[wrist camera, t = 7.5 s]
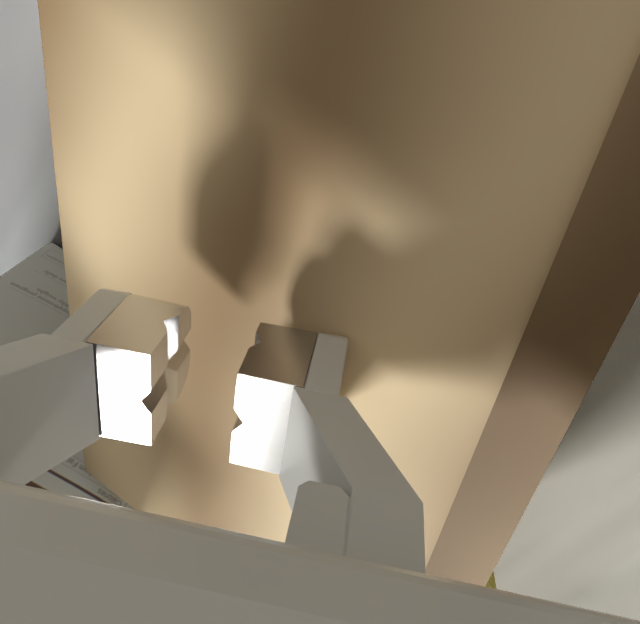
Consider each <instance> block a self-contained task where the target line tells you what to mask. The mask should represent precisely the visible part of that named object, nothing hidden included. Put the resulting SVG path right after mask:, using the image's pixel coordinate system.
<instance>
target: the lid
mask: <svg viewBox="0 0 640 624" xmlns="http://www.w3.org/2000/svg"><path fill="white" fill-rule="evenodd" d="M38 9H39V19H40V29H41V39H42V48H43V58H44V68H45V78H46V88H47V98H48V107H49V117H50V127H51V137H52V147H53V157H54V167H55V176H56V186H57V196H58V206H59V216H60V226H61V235H62V245H63V255H64V265H65V275H66V285H67V295H68V304H69V314H70V316H71V315H72V314H73V313H75V312H76V311H77V310H78V309H79V308H80V307H81V306H82V305H83V304H84V303H85V302H86V301H87V300H88V299H89V298H90V297H91V296H92V295H93V294H94V293H96V292H97V291H98V290H99V289H104V288H107V289H112V290H118V291H123V292H128V293H131V294H136V295H140V296H145V297H149V298H154V299H158V300H163V301H167V302H171V303H176V304H180V305H185V306H189V308H190V311H191V330H190V331H189V333H188V334H187V336H186V338H185V339H184V341H185V342H186V344H187V345H188V347H189V348H190V363H189V369H188V375H187V378H186V381H185V384H184V387H183V390H182V392H181V394H180V395H179V397H178V399H177V401H175V402H173V403H171V404H169V405H167V419H166V420H165V422H164V424H163V426H162V427H161V429H160V431H159V433H158V434H157V436H156V438H155V440H154V441H153V443H152V445H151V446H150V445H144V444H139V443H134V442H128V441H123V440H118V439H112V438H107V437H102V436H100V439H99V440H97V441H95V442H94V443H92V444H91V445H89V446H87V447H86V448H84V449H83V452H84V462H85V471H87V472H88V473H89V474H91V475H92V476H93V477H94V478H96V479H97V480H98V481H99V482H101V483H102V484H103V485H105V486H106V487H107V488H108V489H110V490H111V491H112V492H113V493H115V494H116V495H117V496H119V497H120V498H121V499H122V500H124V501H125V502H126V503H127V504H129V505H130V506H131V507H133V508H134V509H136V510H140V511H145V512H149V513H154V514H158V515H163V516H167V517H172V518H176V519H181V520H185V521H190V522H194V523H199V524H203V525H208V526H212V527H217V528H221V529H226V530H230V531H235V532H239V533H244V534H248V535H253V536H257V537H262V538H266V539H271V540H275V541H280V542H284V543H285V539H286V535H287V531H288V527H289V523H290V519H291V515H292V511H291V508H290V505H289V503H288V500H287V497H286V495H285V492H284V489H283V487H282V484H281V481H280V479H279V475H278V474H274V473H270V472H265V471H261V470H257V469H253V468H249V467H245V466H241V465H237V464H233V463H229V460H230V447H231V435H232V430H233V427H234V425H235V422H236V420H237V417H238V414H237V413H236V411H235V410H234V403H235V394H236V384H237V375H238V372H239V369H240V367H241V365H242V362H243V360H244V358H245V355H246V353H247V351H248V348H249V347H252V346H254V344H255V335H256V331H257V328H258V326H259V324H260V322H263V323H268V324H274V325H279V326H285V327H290V328H296V329H302V330H307V331H313V332H318V334H319V333H325V334H331V335H337V336H343V337H347V338H348V340H349V341H348V347H347V353H346V359H345V365H344V371H343V377H342V383H341V389H340V395H339V396H343V397H347V398H348V399H349V400H350V401H351V403H352V404H353V406H354V407H355V408H356V410H357V411H358V413H359V414H360V415H361V417H362V418H363V420H364V421H365V422H366V424H367V425H368V427H369V428H370V429H371V431H372V432H373V434H374V435H375V436H376V438H377V439H378V441H379V442H380V443H381V445H382V446H383V448H384V449H385V450H386V452H387V453H388V455H389V456H390V457H391V459H392V460H393V462H394V463H395V464H396V466H397V467H398V469H399V470H400V471H401V473H402V474H403V476H404V477H405V478H406V480H407V481H408V482H409V484H410V485H411V487H412V488H413V489H414V491H415V492H416V494H417V495H418V496H419V498H420V499H421V501H422V502H423V511H424V542H425V573H426V574H429V575H434V576H438V577H443V578H448V579H452V580H457V581H461V582H466V583H471V584H475V585H480V586H484V587H485V586H486V584H487V582H488V580H489V578H490V576H491V574H492V572H493V570H494V569H495V567H496V565H497V563H498V561H499V559H500V557H501V555H502V553H503V551H504V549H505V548H506V546H507V544H508V542H509V540H510V538H511V536H512V534H513V532H514V530H515V528H516V527H517V525H518V523H519V521H520V519H521V517H522V515H523V513H524V511H525V509H526V507H527V506H528V504H529V502H530V500H531V498H532V496H533V494H534V492H535V490H536V488H537V486H538V485H539V483H540V481H541V479H542V477H543V475H544V473H545V471H546V469H547V467H548V465H549V464H550V462H551V460H552V458H553V456H554V454H555V452H556V450H557V448H558V446H559V444H560V443H561V441H562V439H563V437H564V435H565V433H566V431H567V429H568V427H569V425H570V423H571V421H572V420H573V418H574V416H575V414H576V412H577V410H578V408H579V406H580V404H581V402H582V400H583V399H584V397H585V395H586V393H587V391H588V389H589V387H590V385H591V383H592V381H593V379H594V378H595V376H596V374H597V372H598V370H599V368H600V366H601V364H602V362H603V360H604V358H605V357H606V355H607V353H608V351H609V349H610V347H611V345H612V343H613V341H614V339H615V337H616V336H617V334H618V332H619V330H620V328H621V326H622V324H623V322H624V320H625V318H626V316H627V315H628V313H629V311H630V309H631V307H632V305H633V303H634V301H635V299H636V297H637V295H638V294H639V292H640V0H38Z"/></svg>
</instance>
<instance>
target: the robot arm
mask: <svg viewBox="0 0 640 624" xmlns="http://www.w3.org/2000/svg"><path fill="white" fill-rule="evenodd" d="M190 330H191V311H190V308H189V306H185V305H180V304H176V303H171V302H167V301H163V300H158V299H154V298H149V297H145V296H140V295H136V294H131V293H128V292H123V291H118V290H112V289H107V288H104V289H99V290H98V291H97V292H96V293H94V294H93V295H92V296H91V297H90V298H89V299H88V300H87V301H86V302H85V303H84V304H83V305H82V306H81V307H80V308H79V309H78V310H77V311H76V312H75V313H73V314H72V315H71V316H70V317H69V318H68V319H67V320H66V321H65V322H64V323H63V324H62V325H61V326H60V327H59V328H58V329H57V330H56V331H55V332H53V333H52V334H51V335H47V334H42V333H41V334H38V335H35V336H31V337H28V338H25V339H22V340H18V341H15V342H12V343H8V344H5V345H2V346H0V624H640V621H638V620H634V619H629V618H625V617H620V616H616V615H611V614H607V613H602V612H598V611H593V610H589V609H584V608H580V607H575V606H570V605H566V604H561V603H557V602H552V601H548V600H543V599H539V598H534V597H530V596H525V595H521V594H516V593H512V592H507V591H503V590H498V589H493V588H489V587H484V586H480V585H475V584H471V583H466V582H461V581H457V580H452V579H448V578H443V577H438V576H434V575H429V574H426V573H425V542H424V511H423V502H422V501H421V499H420V498H419V496H418V495H417V494H416V492H415V491H414V489H413V488H412V487H411V485H410V484H409V482H408V481H407V480H406V478H405V477H404V476H403V474H402V473H401V471H400V470H399V469H398V467H397V466H396V464H395V463H394V462H393V460H392V459H391V457H390V456H389V455H388V453H387V452H386V450H385V449H384V448H383V446H382V445H381V443H380V442H379V441H378V439H377V438H376V436H375V435H374V434H373V432H372V431H371V429H370V428H369V427H368V425H367V424H366V422H365V421H364V420H363V418H362V417H361V415H360V414H359V413H358V411H357V410H356V408H355V407H354V406H353V404H352V403H351V401H350V400H349V399H348V398H347V397H343V396H339V395H340V389H341V383H342V377H343V371H344V365H345V359H346V353H347V347H348V341H349V340H348V338H347V337H343V336H337V335H331V334H325V333H319V334H318V332H313V331H307V330H302V329H296V328H290V327H285V326H279V325H274V324H268V323H263V322H260V324H259V326H258V328H257V331H256V335H255V344H254V346H252V347H249V348H248V351H247V353H246V355H245V358H244V360H243V362H242V365H241V367H240V369H239V372H238V375H237V384H236V394H235V403H234V410H235V411H236V413H237V414H238V417H237V420H236V422H235V425H234V427H233V430H232V435H231V447H230V460H229V463H233V464H237V465H241V466H245V467H249V468H253V469H257V470H261V471H265V472H270V473H274V474H278V475H279V479H280V481H281V484H282V487H283V489H284V492H285V495H286V497H287V500H288V503H289V505H290V508H291V511H292V515H291V519H290V523H289V527H288V531H287V535H286V539H285V543H284V542H280V541H275V540H271V539H266V538H262V537H257V536H253V535H248V534H244V533H239V532H235V531H230V530H226V529H221V528H217V527H212V526H208V525H203V524H199V523H194V522H190V521H185V520H181V519H176V518H172V517H167V516H163V515H158V514H154V513H149V512H145V511H140V510H136V509H131V508H126V507H122V506H117V505H113V504H108V503H104V502H99V501H95V500H90V499H85V498H81V497H76V496H72V495H67V494H63V493H58V492H54V491H49V490H44V489H40V488H35V487H31V486H26V485H25V484H27V483H29V482H30V481H32V480H33V479H35V478H37V477H38V476H40V475H42V474H43V473H45V472H46V471H48V470H50V469H51V468H53V467H55V466H56V465H58V464H60V463H61V462H63V461H64V460H66V459H68V458H69V457H71V456H73V455H74V454H76V453H77V452H79V451H81V450H82V449H84V448H86V447H87V446H89V445H91V444H92V443H94V442H95V441H97V440H99V439H100V436H102V437H107V438H112V439H118V440H123V441H128V442H134V443H139V444H144V445H150V446H151V445H152V443H153V441H154V440H155V438H156V436H157V434H158V433H159V431H160V429H161V427H162V426H163V424H164V422H165V420H166V419H167V405H169V404H171V403H173V402H175V401H177V399H178V397H179V395H180V394H181V392H182V390H183V387H184V384H185V381H186V378H187V375H188V369H189V363H190V348H189V347H188V345H187V344H186V342H185V341H184V339H185V338H186V336H187V334H188V333H189V331H190Z"/></svg>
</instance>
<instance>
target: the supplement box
mask: <svg viewBox="0 0 640 624" xmlns="http://www.w3.org/2000/svg"><path fill="white" fill-rule="evenodd" d="M69 317H70V314H69V304H68V295H67V285H66V275H65V265H64V255H63V249H62V248H60V247H59V246H57V245H55V244H54V243H49V244H47V245H45V246H44V247H42V248H41V249H39V250H38V251H37V252H35V253H34V254H32V255H31V256H29V257H28V258H26V259H25V260H23V261H22V262H20V263H19V264H18V265H16V266H15V267H13V268H12V269H10V270H9V271H7V272H6V273H4V274H3V275H1V276H0V346H2V345H5V344H8V343H12V342H15V341H18V340H22V339H25V338H28V337H31V336H35V335H38V334H41V333H42V334H47V335H51V334H52V333H53V332H55V331H56V330H57V329H58V328H59V327H60V326H61V325H62V324H63V323H64V322H65V321H66V320H67V319H68V318H69ZM25 485H26V486H31V487H35V488H40V489H44V490H49V491H54V492H58V493H63V494H67V495H72V496H76V497H81V498H85V499H90V500H95V501H99V502H104V503H108V504H113V505H117V506H122V507H126V508H131V509H134V508H133V507H131V506H130V505H129V504H127V503H126V502H125V501H124V500H122V499H121V498H120V497H119V496H117V495H116V494H115V493H113V492H112V491H111V490H110V489H108V488H107V487H106V486H105V485H103V484H102V483H101V482H99V481H98V480H97V479H96V478H94V477H93V476H92V475H91V474H89V473H88V472H87V471H85V462H84V452H83V449H82V450H81V451H79V452H77V453H76V454H74V455H73V456H71V457H69V458H68V459H66V460H64V461H63V462H61V463H60V464H58V465H56V466H55V467H53V468H51V469H50V470H48V471H46V472H45V473H43V474H42V475H40V476H38V477H37V478H35V479H33V480H32V481H30V482H29V483H27V484H25Z"/></svg>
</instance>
